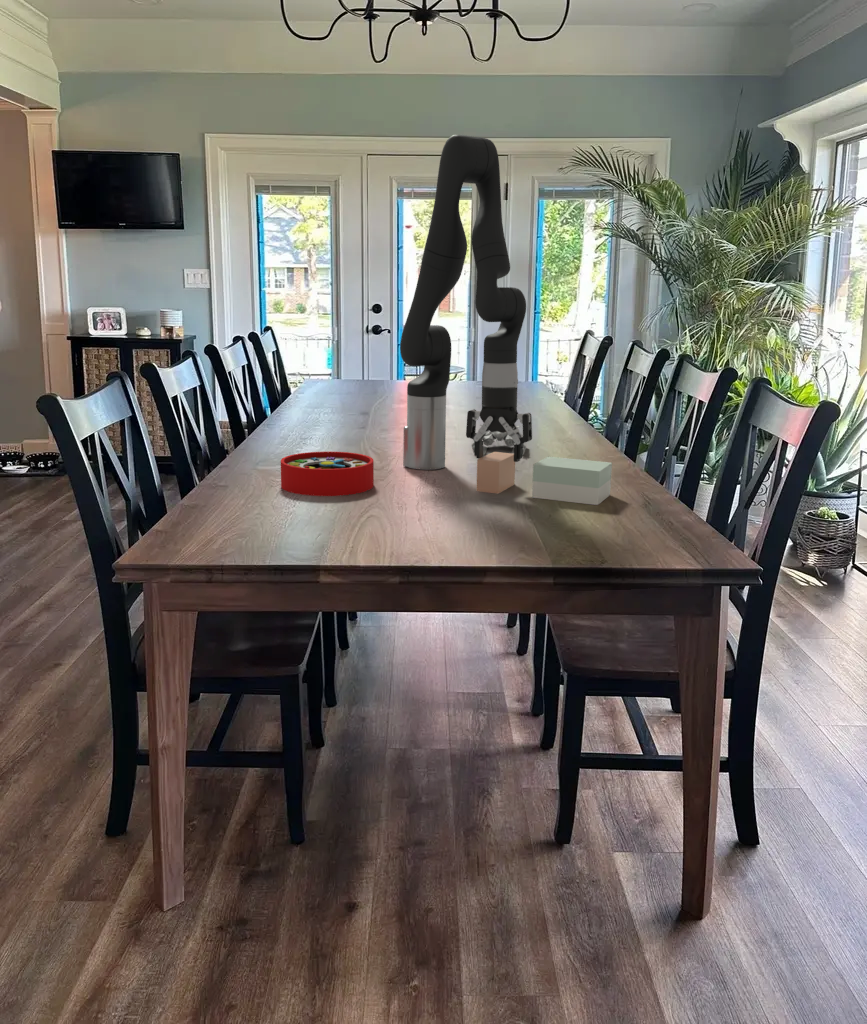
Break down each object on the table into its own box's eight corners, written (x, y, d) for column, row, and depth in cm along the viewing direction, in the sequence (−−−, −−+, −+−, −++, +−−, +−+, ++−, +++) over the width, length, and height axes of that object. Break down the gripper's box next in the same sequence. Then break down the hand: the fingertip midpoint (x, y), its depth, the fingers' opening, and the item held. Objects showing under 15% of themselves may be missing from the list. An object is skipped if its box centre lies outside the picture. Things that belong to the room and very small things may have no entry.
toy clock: (261, 462, 197) (318, 448, 214) (261, 489, 199) (318, 473, 215) (337, 473, 188) (391, 457, 204) (338, 501, 189) (391, 483, 206)
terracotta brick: (476, 491, 199) (477, 459, 197) (493, 482, 208) (494, 451, 206) (498, 494, 197) (499, 461, 195) (514, 484, 206) (515, 453, 204)
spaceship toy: (470, 457, 237) (471, 433, 235) (475, 443, 256) (475, 421, 255) (525, 459, 236) (526, 434, 234) (525, 445, 255) (526, 422, 253)
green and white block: (531, 497, 194) (533, 464, 192) (546, 487, 203) (548, 456, 201) (597, 505, 188) (599, 471, 187) (610, 495, 197) (612, 462, 195)
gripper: (461, 384, 196) (461, 460, 200) (525, 387, 191) (523, 465, 194) (475, 381, 203) (474, 454, 207) (537, 384, 197) (535, 459, 201)
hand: (498, 459), depth 201 cm, fingers open, 8 cm apart
